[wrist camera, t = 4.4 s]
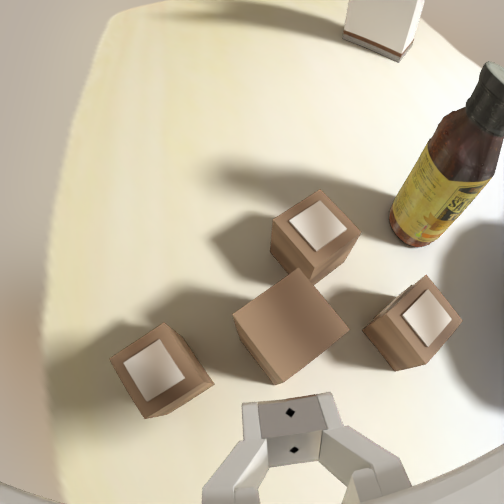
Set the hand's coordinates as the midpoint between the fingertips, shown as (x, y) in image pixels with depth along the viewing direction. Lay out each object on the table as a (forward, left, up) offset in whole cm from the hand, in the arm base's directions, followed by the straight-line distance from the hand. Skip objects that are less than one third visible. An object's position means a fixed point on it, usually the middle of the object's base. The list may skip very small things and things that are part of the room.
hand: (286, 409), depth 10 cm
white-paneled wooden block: (+11, +8, -16) cm, 21 cm away
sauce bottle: (+23, +4, -16) cm, 28 cm away
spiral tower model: (+53, +33, -17) cm, 64 cm away
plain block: (+4, +3, -16) cm, 17 cm away
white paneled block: (+13, -3, -16) cm, 21 cm away
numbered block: (-5, +6, -16) cm, 18 cm away
